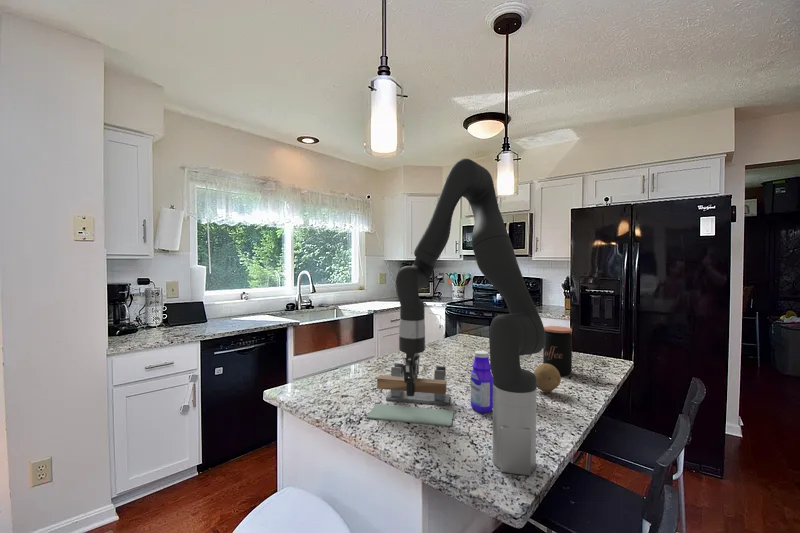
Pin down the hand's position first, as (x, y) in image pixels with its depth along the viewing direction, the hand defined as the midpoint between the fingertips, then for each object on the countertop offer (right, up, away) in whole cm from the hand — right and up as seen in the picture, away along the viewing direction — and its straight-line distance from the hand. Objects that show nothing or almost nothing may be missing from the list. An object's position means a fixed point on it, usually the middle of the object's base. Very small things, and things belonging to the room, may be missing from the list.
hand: (411, 393), depth 108 cm
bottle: (+21, -7, +4) cm, 23 cm away
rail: (0, +1, 0) cm, 1 cm away
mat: (0, -6, 0) cm, 6 cm away
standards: (+3, -6, +13) cm, 14 cm away
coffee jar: (+60, -6, +42) cm, 74 cm away
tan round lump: (+47, -7, +19) cm, 51 cm away
